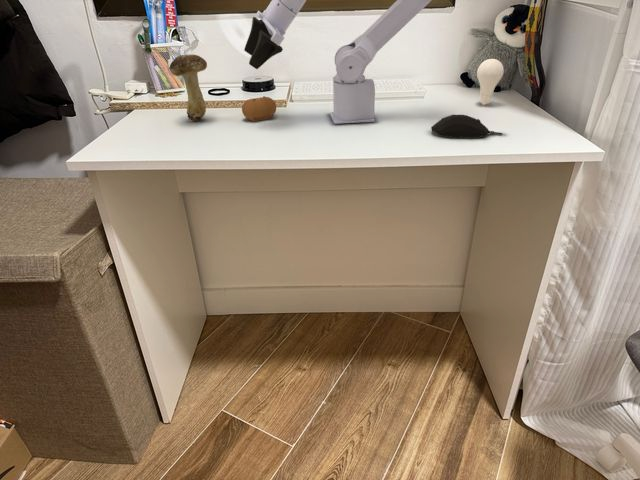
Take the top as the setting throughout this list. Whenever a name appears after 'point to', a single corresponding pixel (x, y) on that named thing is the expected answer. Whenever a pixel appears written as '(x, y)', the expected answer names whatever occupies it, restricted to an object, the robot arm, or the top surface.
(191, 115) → the mushroom
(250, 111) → the potato
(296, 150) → the top surface
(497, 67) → the lightbulb
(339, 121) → the robot arm
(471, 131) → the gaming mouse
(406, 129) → the top surface
